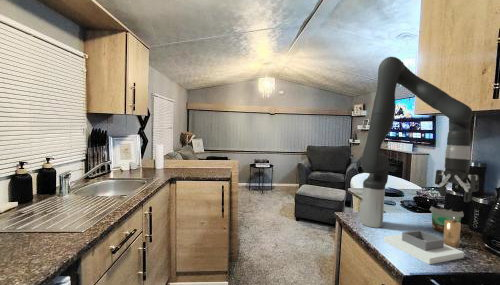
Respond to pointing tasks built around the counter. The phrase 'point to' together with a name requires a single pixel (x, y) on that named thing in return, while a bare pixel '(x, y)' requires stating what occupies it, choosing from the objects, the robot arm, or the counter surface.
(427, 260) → the white board with frame
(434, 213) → the food container
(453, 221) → the spout can
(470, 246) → the counter surface
